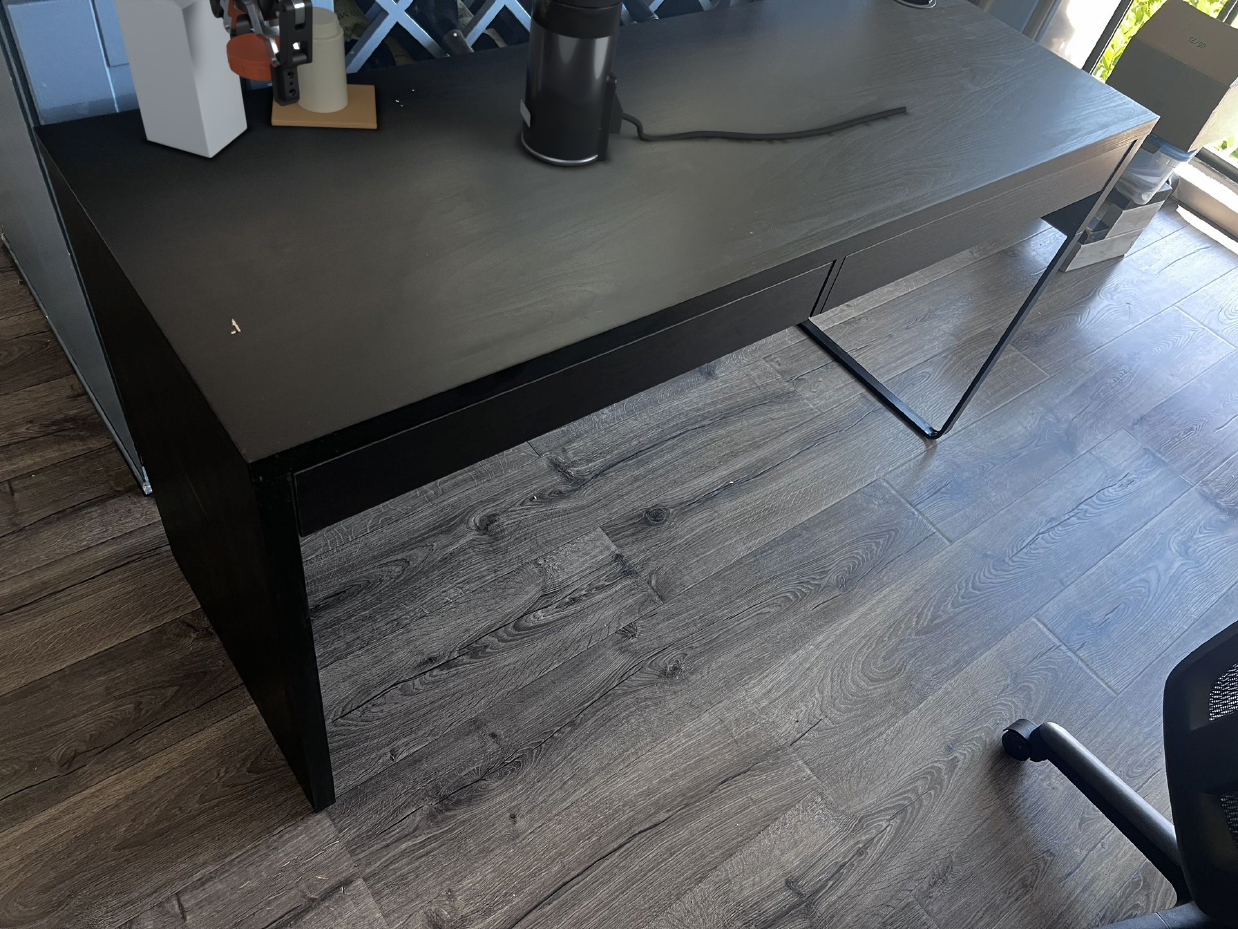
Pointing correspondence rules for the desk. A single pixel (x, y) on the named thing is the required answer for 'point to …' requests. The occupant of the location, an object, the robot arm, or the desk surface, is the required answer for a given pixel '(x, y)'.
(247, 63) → the lid
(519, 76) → the desk surface
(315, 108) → the jar
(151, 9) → the milk carton
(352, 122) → the mat
